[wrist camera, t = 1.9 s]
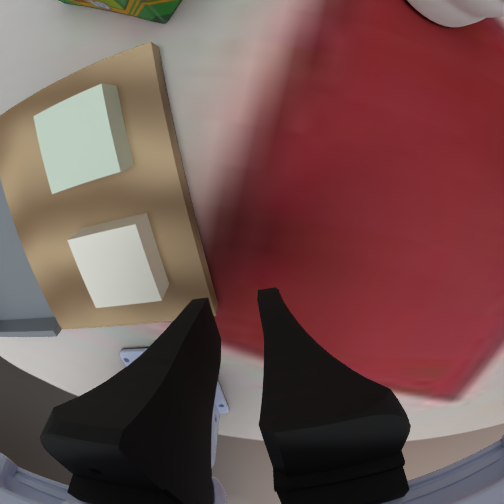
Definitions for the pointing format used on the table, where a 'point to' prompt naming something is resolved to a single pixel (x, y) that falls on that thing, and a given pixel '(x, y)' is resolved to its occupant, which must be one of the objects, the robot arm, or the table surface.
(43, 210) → the oak board
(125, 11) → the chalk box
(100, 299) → the cream tile
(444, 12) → the water bottle
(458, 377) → the table surface
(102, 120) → the sage tile
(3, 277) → the tray
